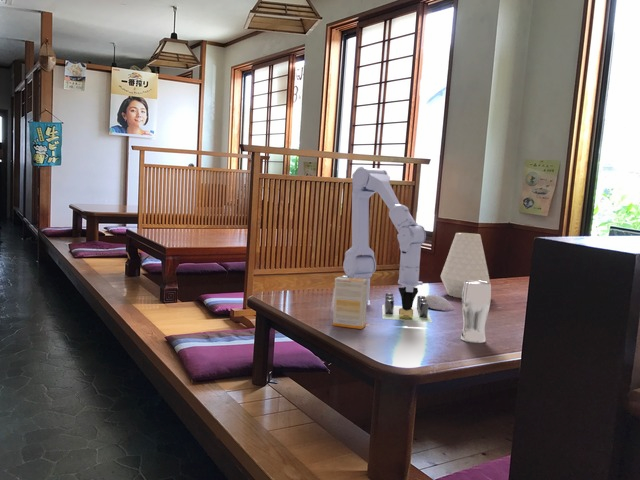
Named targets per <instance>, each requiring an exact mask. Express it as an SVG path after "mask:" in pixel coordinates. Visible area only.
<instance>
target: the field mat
mask: <svg viewBox="0 0 640 480" xmlns="http://www.w3.org/2000/svg"><path fill="white" fill-rule="evenodd" d="M400 308H402V305H394V309H393V314H385V304H382V307H381V311H382V312H381V313H382V315H381V317H382V319H383V320H393V321H407V322H417V323H418V322H419V323H433V320H432V318H431V315H430V313H429V312H428V317H427V318H422V317H419V313H418V309H417V306H412V309H413V319H411V320H404V319H400V318H399V309H400Z"/></svg>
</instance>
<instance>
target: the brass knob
mask: <svg viewBox="0 0 640 480" xmlns="http://www.w3.org/2000/svg"><path fill="white" fill-rule="evenodd" d="M399 318H400V319H404V320H411V319H413V309H409V308H400V309H399ZM404 320H403V321H404Z"/></svg>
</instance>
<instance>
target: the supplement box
mask: <svg viewBox="0 0 640 480" xmlns="http://www.w3.org/2000/svg"><path fill="white" fill-rule="evenodd" d="M342 276H343V275H342ZM342 276H337V277H335V278H334V288H333V289H334V293H333V312H332V313H333V317H332V321H333V322H332V326H333V327H343V328H351V329H359V330H362V329H363V328H365V327H366V325H367V324H366V323H367V307H368V305H367V286H368V279H364V278H353V277H342Z"/></svg>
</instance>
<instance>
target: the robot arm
mask: <svg viewBox="0 0 640 480" xmlns="http://www.w3.org/2000/svg"><path fill="white" fill-rule="evenodd" d="M390 179H391V177H390V176H389V174H388V172H387V170H386V169H384V168H373V167H372V168H371V167H365V166H360V167H357V169H356V170H355V171H354V172H353V174H352V180H351V182H352V186H351V187H352V192H351V247H349V249H348V250H346V251H345V253H344V260H343V263H342V268H343V271H344V273H345V274H346V275H342V277H353V278H364V279H368V286H367V306H370V305H371V300H370V287H371V286H370V285H371V284H370V283H371V278H372V277H373V274H374V273H375V272H376V270H377V262H376V258H375V252H374V250H373V249H372V248H370V246H369V245H370V235H369V234H370V226H369V225H370V221H369V220H370V216H369V215H370V213H369V212H370V207H369V206H370V198H371V196H373V195H374V194H376V193H377V194H378V195H379V196H380V198H381V199H382V201H383V202H384V204H385V205H386V206H387V208H388V209H389V212H388V217H389V218H390V220H391V222H392V224H393V225H394V227H395V229H396V230H397V232H398V234H396V235H397V236H396V239H397V241H398V243H399V250H400V256H399V257H400V259H399V270H398V271H399V272H398V273H399V274H398V281H397V284H398V285H400V286H399V287H397V289H398V292H399V294H400V299H401V306H402V308H409V309H412V307H413V304H414V300H415V298H416V295H418V293H419V290H418V287H417V286H419V285H420V286H422V285H423V281H419V280H420V263H421V249H422V244H424V243H425V241H426V238H427V233H426V230H425V226H423V225H421V224H418V223H417V222H416V221H415V219H414V218H413V216H412V215H411V212H410V211H409V207H408V206H406V205H404V204H401V203H400V201H399V200H398V197H397V196H396V194H395V192H394V189H393V187H392V186H391V183H390V181H391V180H390ZM402 286H403V287H402Z"/></svg>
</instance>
